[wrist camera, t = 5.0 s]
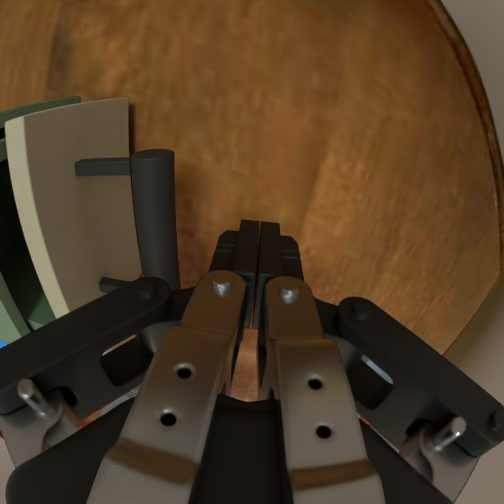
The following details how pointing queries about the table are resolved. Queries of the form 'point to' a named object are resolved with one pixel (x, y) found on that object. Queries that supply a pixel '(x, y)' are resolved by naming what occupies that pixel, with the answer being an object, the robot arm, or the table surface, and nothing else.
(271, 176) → the table surface
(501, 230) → the table surface
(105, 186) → the drawer
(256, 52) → the table surface
